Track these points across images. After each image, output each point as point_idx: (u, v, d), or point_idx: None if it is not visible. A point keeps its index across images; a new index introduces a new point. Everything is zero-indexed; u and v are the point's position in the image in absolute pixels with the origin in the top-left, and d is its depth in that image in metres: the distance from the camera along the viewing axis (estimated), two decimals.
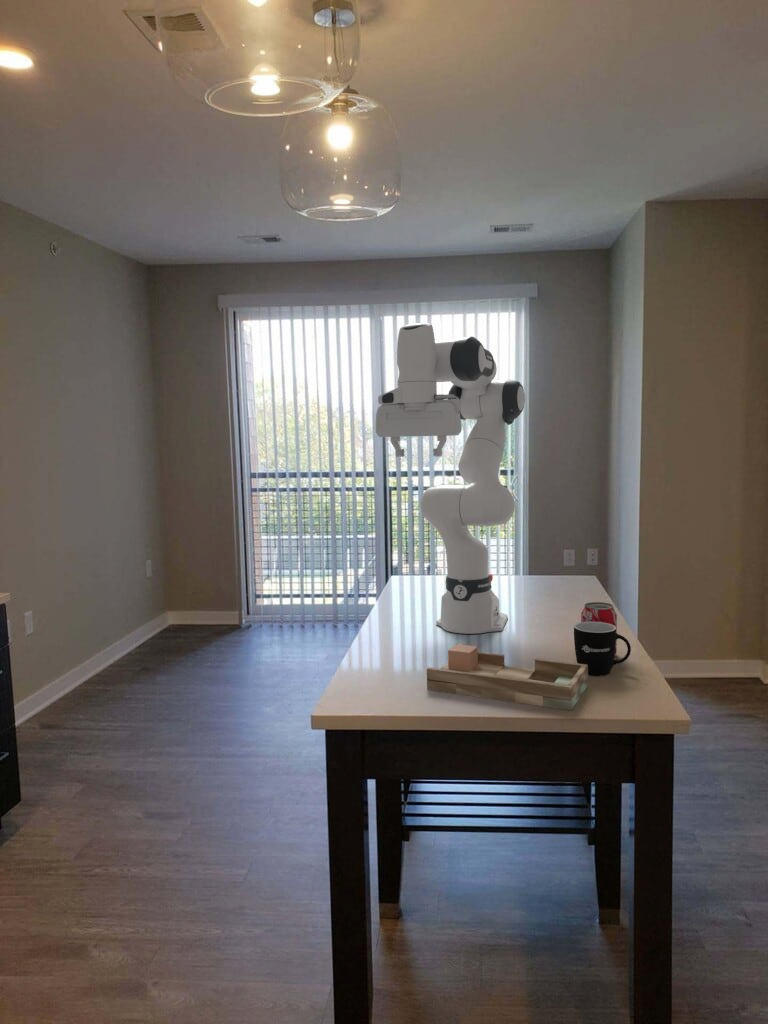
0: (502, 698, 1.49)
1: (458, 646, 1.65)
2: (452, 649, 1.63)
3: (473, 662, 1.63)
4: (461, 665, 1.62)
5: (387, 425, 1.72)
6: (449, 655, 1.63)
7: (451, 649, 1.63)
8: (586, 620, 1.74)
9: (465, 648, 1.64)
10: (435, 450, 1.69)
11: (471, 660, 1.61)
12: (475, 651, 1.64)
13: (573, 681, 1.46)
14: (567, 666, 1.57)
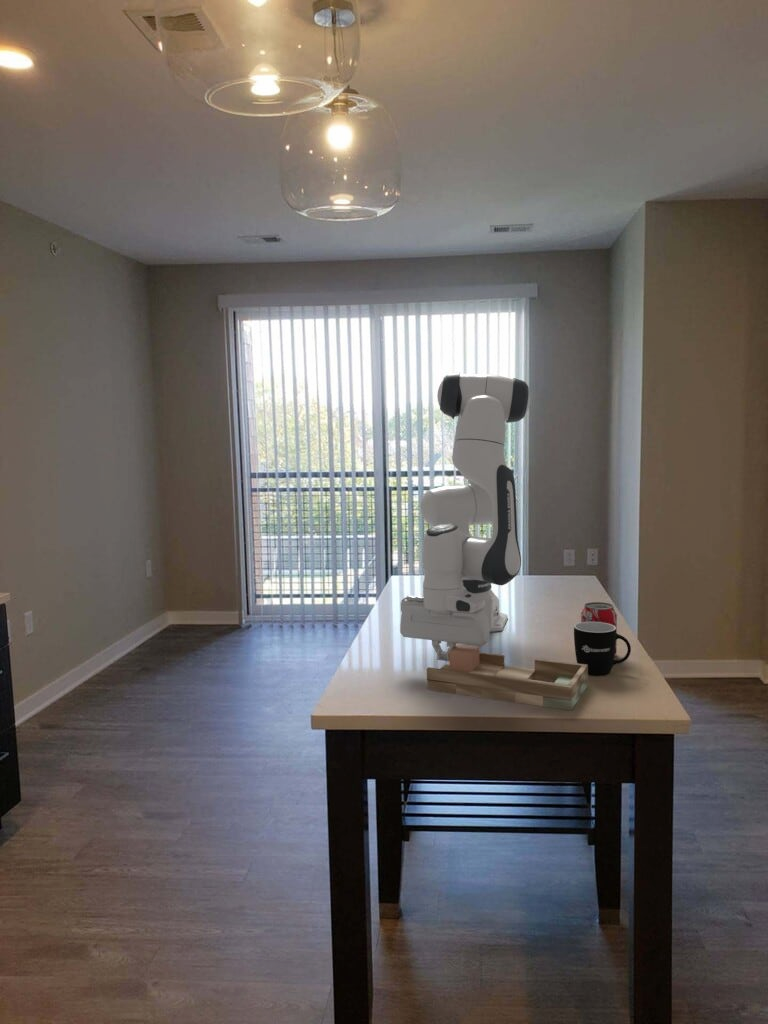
0: (502, 698, 1.49)
1: (460, 646, 1.65)
2: (454, 649, 1.63)
3: (475, 662, 1.63)
4: (462, 665, 1.61)
5: None
6: (451, 656, 1.62)
7: (453, 649, 1.63)
8: (586, 620, 1.74)
9: (467, 648, 1.64)
10: None
11: (472, 661, 1.61)
12: (477, 651, 1.63)
13: (573, 681, 1.46)
14: (567, 666, 1.57)
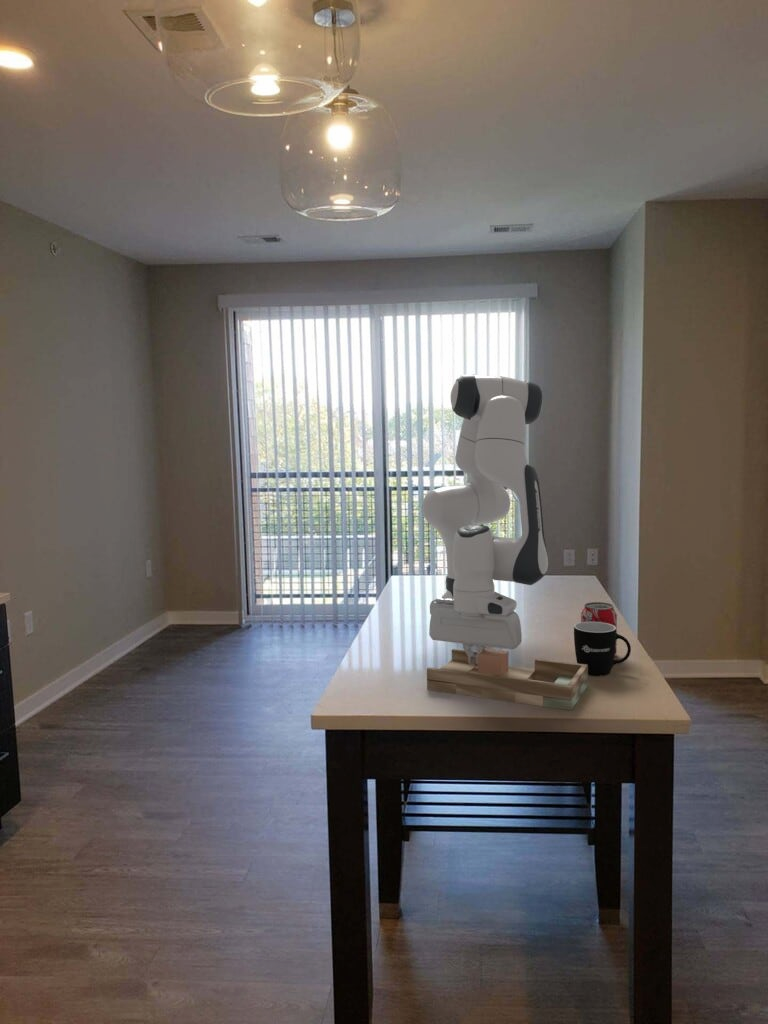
0: (502, 698, 1.49)
1: (488, 650, 1.62)
2: (482, 653, 1.60)
3: (504, 667, 1.59)
4: (491, 670, 1.58)
5: None
6: (480, 660, 1.59)
7: (481, 653, 1.60)
8: (586, 620, 1.74)
9: (496, 652, 1.60)
10: None
11: (501, 665, 1.58)
12: (506, 656, 1.60)
13: (573, 681, 1.46)
14: (567, 666, 1.57)
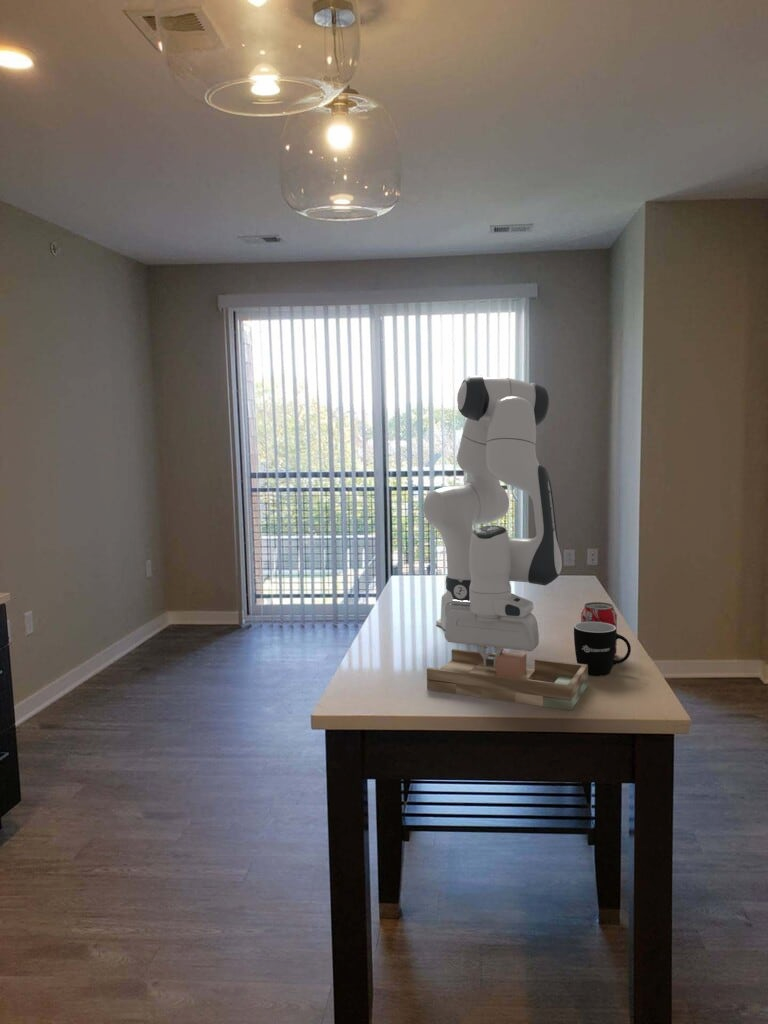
0: (502, 698, 1.49)
1: (506, 653, 1.60)
2: (500, 656, 1.58)
3: (522, 669, 1.58)
4: (510, 673, 1.56)
5: None
6: (498, 663, 1.57)
7: (499, 656, 1.58)
8: (586, 620, 1.74)
9: (514, 655, 1.58)
10: None
11: (520, 668, 1.56)
12: (524, 658, 1.58)
13: (573, 681, 1.46)
14: (567, 666, 1.57)
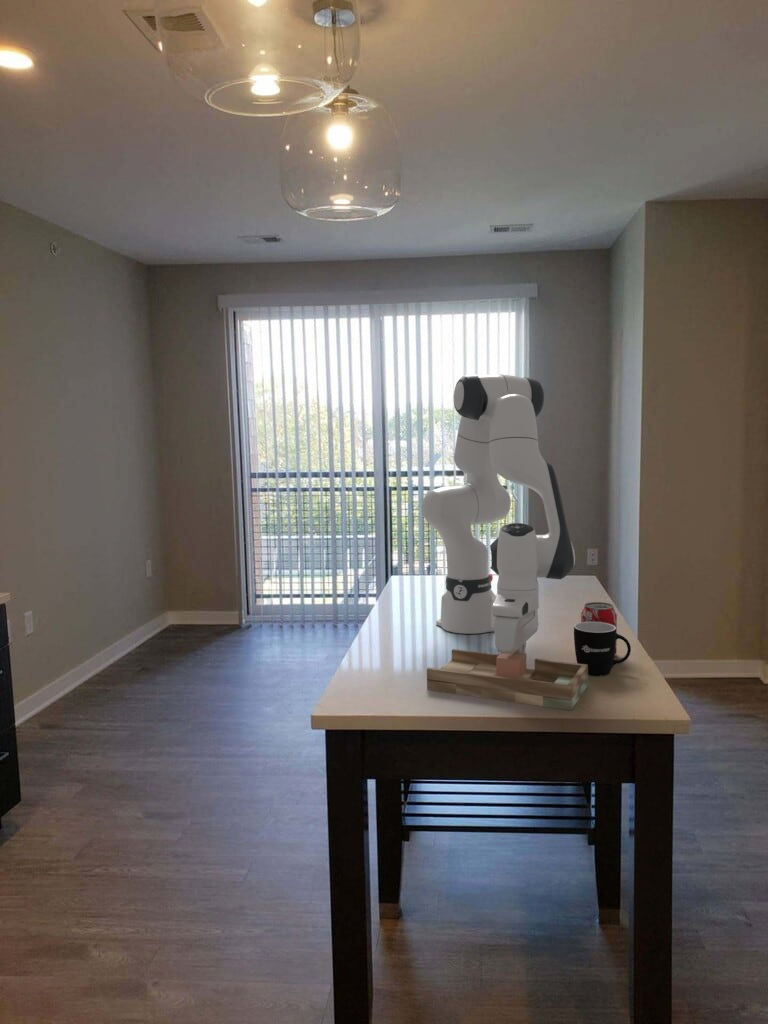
0: (502, 698, 1.49)
1: None
2: (500, 656, 1.58)
3: (522, 669, 1.57)
4: (510, 673, 1.56)
5: (517, 638, 1.55)
6: (498, 663, 1.57)
7: (499, 656, 1.58)
8: (586, 620, 1.74)
9: (514, 655, 1.58)
10: None
11: (520, 668, 1.56)
12: (524, 658, 1.58)
13: (573, 681, 1.46)
14: (567, 666, 1.57)
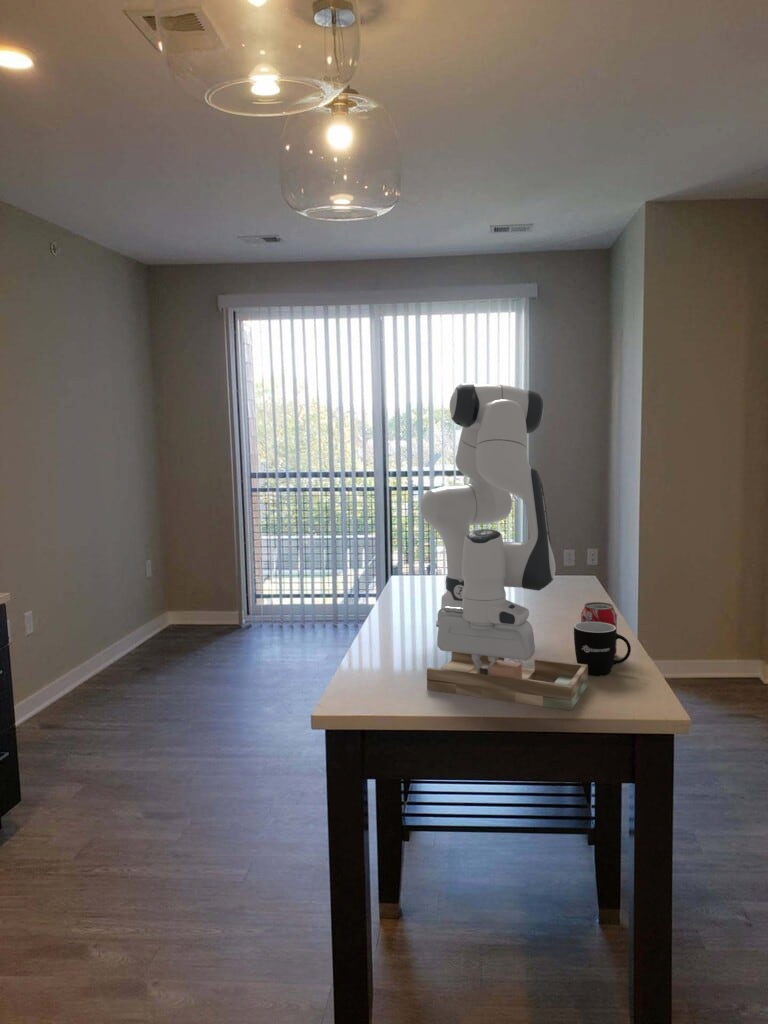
0: (502, 698, 1.49)
1: (500, 662, 1.54)
2: (495, 666, 1.52)
3: None
4: None
5: None
6: (492, 673, 1.51)
7: (493, 666, 1.52)
8: (586, 620, 1.74)
9: (509, 664, 1.52)
10: None
11: (515, 678, 1.50)
12: (519, 668, 1.52)
13: (573, 681, 1.46)
14: (567, 666, 1.57)
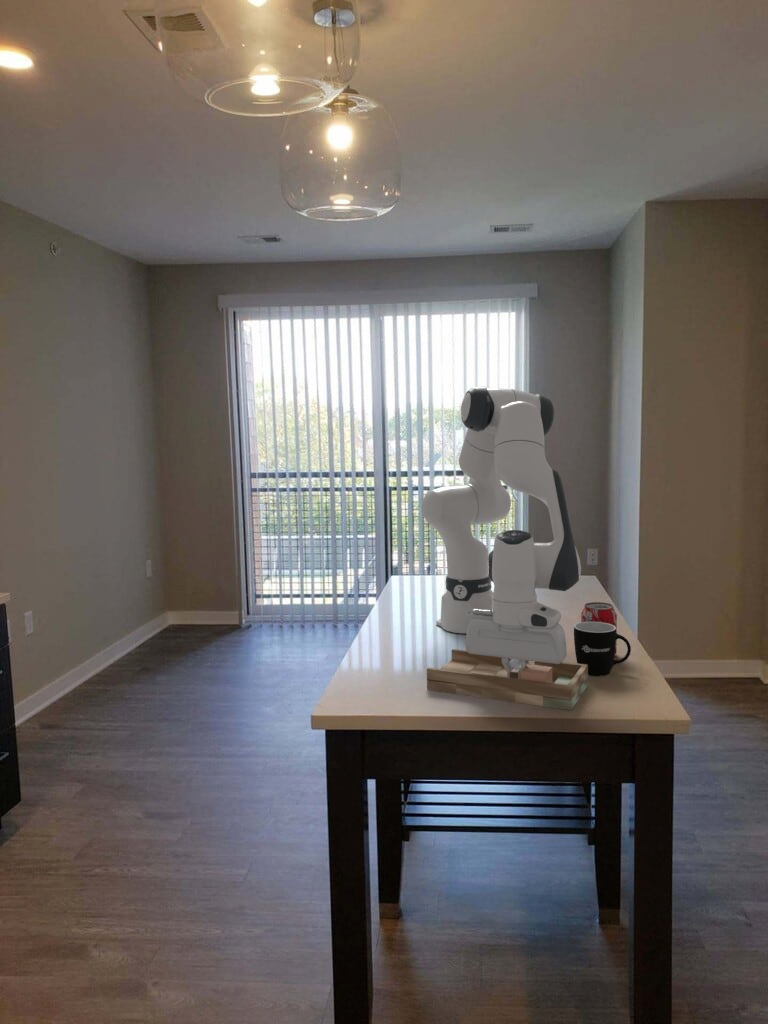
0: (502, 698, 1.49)
1: (531, 666, 1.51)
2: (525, 670, 1.49)
3: None
4: None
5: None
6: (522, 677, 1.48)
7: (524, 670, 1.49)
8: (586, 620, 1.74)
9: (539, 669, 1.49)
10: None
11: None
12: (550, 672, 1.49)
13: (573, 681, 1.46)
14: (567, 666, 1.57)
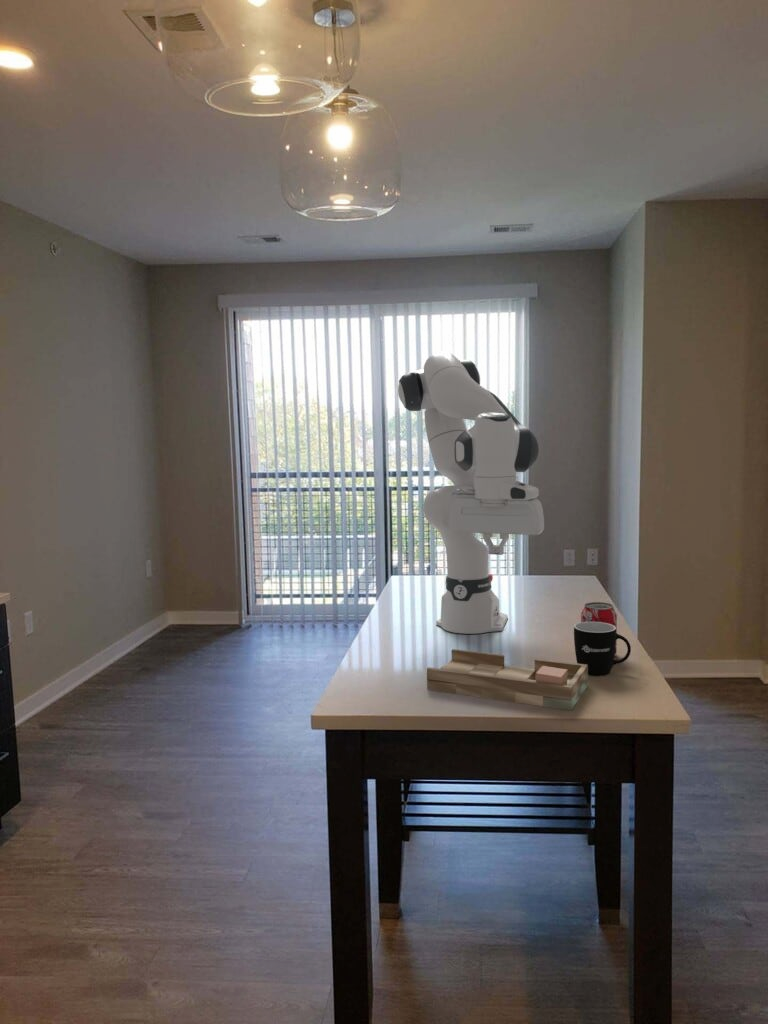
0: (502, 698, 1.49)
1: (546, 668, 1.49)
2: (540, 672, 1.47)
3: None
4: None
5: None
6: (537, 679, 1.47)
7: (539, 672, 1.47)
8: (586, 620, 1.74)
9: (554, 671, 1.48)
10: None
11: None
12: (565, 675, 1.48)
13: (573, 681, 1.46)
14: (567, 666, 1.57)
